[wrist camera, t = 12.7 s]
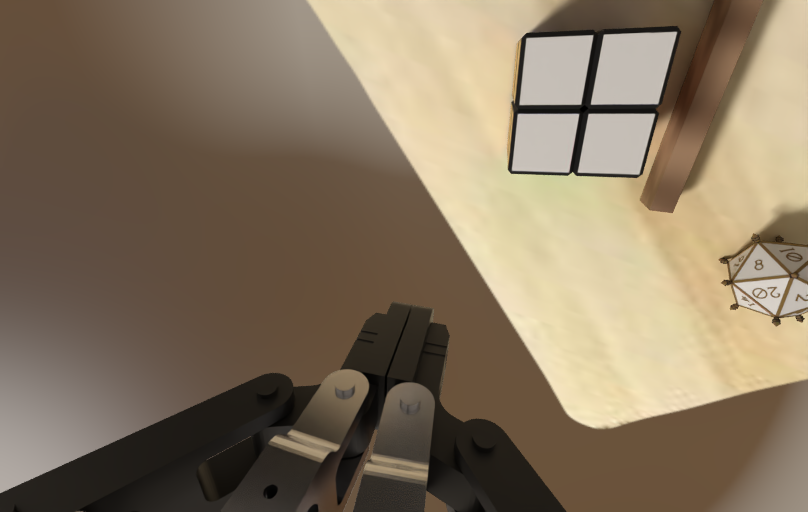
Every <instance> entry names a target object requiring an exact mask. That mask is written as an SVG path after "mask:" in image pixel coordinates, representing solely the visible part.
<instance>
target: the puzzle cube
mask: <svg viewBox="0 0 808 512" xmlns="http://www.w3.org/2000/svg"><path fill="white" fill-rule="evenodd" d="M680 34H681V31H680V29H679V28H678V26H668V27H646V28H625V29H604V30H601V31H598V32H595V31H594V30H582V31H560V32H539V33H526V34H525V35H524V36H523V37H522V38H521V40H520V41H519V42H518V43H517V49H516V59H515V70H514V81H513V91H512V97H513V100H514V101H512V102H511V112H510V123H509V133H508V144H507V155H508V170H509V172H510V173H511V174H535V175H565V176H568V175H569V174H571V173H572V172H573V173H574V174H575V175H576V176H597V177H626V178H637V177H639V176H640V175H642V174H643V171H644V167H645V163H646V160H647V156H648V152H649V148H650V145H651V141H652V137H653V133H654V130H655V126H656V122H657V119H658V115H659V113H658V112H657V110H656V108H657V107H658V106H659V105H661V104H662V101H663V98H664V94H665V90H666V86H667V83H668V79H669V75H670V72H671V68H672V64H673V60H674V57H675V53H676V49H677V45H678V42H679V38H680Z"/></svg>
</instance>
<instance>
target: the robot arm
mask: <svg viewBox="0 0 808 512" xmlns="http://www.w3.org/2000/svg"><path fill="white" fill-rule="evenodd" d="M433 312H434V309H433V308H428V307H422V306H416V305H414V306H413V305H410V304H404V303H398V302H392V304H391V306H390V308H389V310H388V312H387V314H380V313H375V314H374V315H373V316H371V317H370V318H369V319H368V320H366V322H365V324H364V326H363V328H362V330H361V332H360V333H359V335H358V337H357V340H356V341H355V343H354V345H353V347H352V349H351V350H350V352H349V354H348V356H347V358H346V360H345V362H344V364H343V366H342V368H341V369H340V370H339V371H336V372H334V373H332V374H330V375H329V376H328V377H326V379H325V380H324V381H323V383H322V384H319V385H314V386H299V387H293V383H292V381H291V379H290V378H289V377H287V376H286V375H283V374H280V373H269V374H265V375H262V376H259V377H257V378H255V379H253V380H250V381H248V382H246V383H244V384H241V385H239V386H237V387H235V388H232V389H230V390H228V391H226V392H224V393H221V394H219V395H217V396H215V397H213V398H211V399H208V400H206V401H204V402H201V403H199V404H197V405H195V406H193V407H190V408H188V409H186V410H184V411H182V412H179V413H177V414H175V415H173V416H170V417H168V418H166V419H164V420H162V421H160V422H157V423H155V424H153V425H151V426H148V427H146V428H144V429H142V430H139V431H137V432H135V433H133V434H131V435H128V436H126V437H124V438H122V439H120V440H117V441H115V442H113V443H111V444H109V445H106V446H104V447H102V448H100V449H98V450H95V451H93V452H91V453H89V454H86V455H84V456H82V457H80V458H77V459H75V460H73V461H71V462H69V463H66V464H64V465H62V466H60V467H58V468H56V469H53V470H51V471H49V472H46V473H44V474H42V475H40V476H38V477H35V478H33V479H31V480H29V481H26V482H24V483H22V484H20V485H18V486H15V487H13V488H11V489H9V490H7V491H4V492H2V493H0V512H343V510H344V508H345V506H346V504H347V501H348V499H349V497H350V494H351V492H352V490H353V487H354V485H355V483H356V480H357V478H358V476H359V473H360V471H361V469H362V467H363V464H364V462H365V460H366V457H367V455H368V452H369V444H370V441H371V438H372V436H373V433H374V430H375V429H377V430H378V432H377V436H376V440H375V444H374V448H373V453H372V456H371V459H370V460H368V461H367V463H366V465H365V469H364V472H363V476H362V479H361V483H360V487H359V491H358V494H357V498H356V502H355V506H354V510H353V512H424V507H425V497H426V491H428V492H430V493H431V494H432V495H434V496H435V497H437V498H438V499H440V500H441V501H443V502H445V503H446V506H447V510H448V512H566V510H565V509H564V508H563V507H562V505H561V504H560V503H559V501H558V500H557V499H556V498H555V497H554V495H553V494H552V492H551V491H550V490H549V488H548V487H547V486H546V485H545V483H544V482H543V481H542V479H541V478H540V477H539V476H538V474H537V473H536V472H535V470H534V469H533V468H532V466H531V465H530V464H529V463H528V461H527V460H526V459H525V457H524V456H523V455H522V454H521V452H520V451H519V450H518V449H517V447H516V446H515V445H514V443H513V442H512V441H511V439H510V438H509V437H508V435H507V434H506V433H505V432H504V431H503V430H502V429H501V428H500V427H499V426H498V425H496V424H495V423H493V422H491V421H488V420H484V419H471V420H469V421H466V422H462V421H460V420H459V419H457V418H455V417H453V416H452V415H450V414H449V413H448V412H447V411H446V410H445V409H444V407H443V406H442V405H441V402H440V395H441V389H442V384H443V379H444V373H445V368H446V360H447V352H448V344H449V336H450V335H449V333H448V330H447V328H446V325H442V324H437V323H433V314H434V313H433ZM250 436H251V437H250ZM248 437H249V438H248ZM246 438H247V439H246ZM244 439H245V440H244ZM242 440H244V441H242ZM240 441H242V442H240ZM239 442H240V443H239ZM237 443H238V444H237ZM235 444H236V445H235ZM233 445H234V446H233ZM231 446H232V447H231ZM229 447H230V448H229ZM227 448H229V449H227ZM225 449H227V450H225ZM224 450H225V451H224ZM222 451H223V452H222ZM220 452H221V453H220ZM218 453H219V454H218ZM216 454H217V455H216ZM214 455H216V456H214ZM212 456H214V457H212ZM210 457H212V458H210ZM209 458H210V459H209ZM207 459H208V460H207Z"/></svg>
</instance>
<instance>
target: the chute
mask: <svg viewBox="0 0 808 512" xmlns="http://www.w3.org/2000/svg"><path fill="white" fill-rule="evenodd" d="M762 2H763V0H715V1H714V3H713V6H712V9H711V11H710V14H709V17H708V19H707V22H706V25H705V27H704V30H703V33H702V35H701V38H700V41H699V43H698V46H697V49H696V51H695V54H694V57H693V59H692V62H691V65H690V67H689V70H688V73H687V75H686V78H685V81H684V83H683V86H682V89H681V91H680V94H679V97H678V99H677V102H676V105H675V107H674V110H673V113H672V115H671V118H670V121H669V123H668V126H667V129H666V131H665V134H664V137H663V139H662V142H661V145H660V147H659V150H658V153H657V155H656V158H655V161H654V164H653V166H652V169H651V172H650V174H649V177H648V180H647V182H646V185H645V188H644V190H643V193H642V196H641V198H640V201H641V202H642V203H643V204H644V205H645V206H646V207H647V208H648V209H649V210H652V211H660V212H668V213H673V211H674V209H675V206H676V204H677V202H678V199H679V197H680V195H681V192H682V190H683V188H684V185H685V183H686V181H687V178H688V176H689V173H690V171H691V169H692V166H693V164H694V162H695V159H696V157H697V155H698V152H699V150H700V148H701V145H702V143H703V141H704V138H705V136H706V134H707V131H708V129H709V127H710V124H711V122H712V120H713V117H714V115H715V112H716V110H717V108H718V105H719V103H720V101H721V98H722V96H723V94H724V91H725V89H726V87H727V84H728V82H729V80H730V77H731V75H732V73H733V70H734V68H735V66H736V63H737V61H738V58H739V56H740V54H741V51H742V49H743V47H744V44H745V42H746V40H747V37H748V35H749V33H750V30H751V28H752V26H753V23H754V21H755V19H756V16H757V14H758V12H759V9H760V7H761V4H762Z"/></svg>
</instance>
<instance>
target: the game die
mask: <svg viewBox="0 0 808 512" xmlns="http://www.w3.org/2000/svg"><path fill="white" fill-rule="evenodd" d="M751 239H753V241H755V243H754V244H753V245H751V246H750V247H748V248H747V249H746V250H744V251H743V252H741V253H740V254H738V255H737V256H736V257H734V258H733V259H731V260H730V261H728V260H727V259H724V258H723V259H719V261H720V262H721V263H723V264H727V265H728V272H729V279H730V280H724V281H723V282H722V284H723V285H725V286H726V285H730V284H731V288H732V291H733V294H734V297H735V300H736V304H733V305H731V307H730V310H736V309H738V307H739V306H741V307H744V308H747V309H750V310H753V311H756V312H759V313H762V314H765V315H768V316H771V317H774V319H773V322H772V323H773V324H774V325H775V326H776V327H777V326H778V325H779V324H781V323H780V319H779V318H784V317H792V316H796V319H797V321H799V322H803V320H804V319H805V318H803V316H801V314H804V313H806V312H808V245H801V244H793V243H784V242H782V241H784V240H783V239H784V238H782V237H781V236H780V235H779V236H778V237H776V242H771V241H760V237H759V235H756V234H754V233H753V236H752V238H751Z"/></svg>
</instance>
